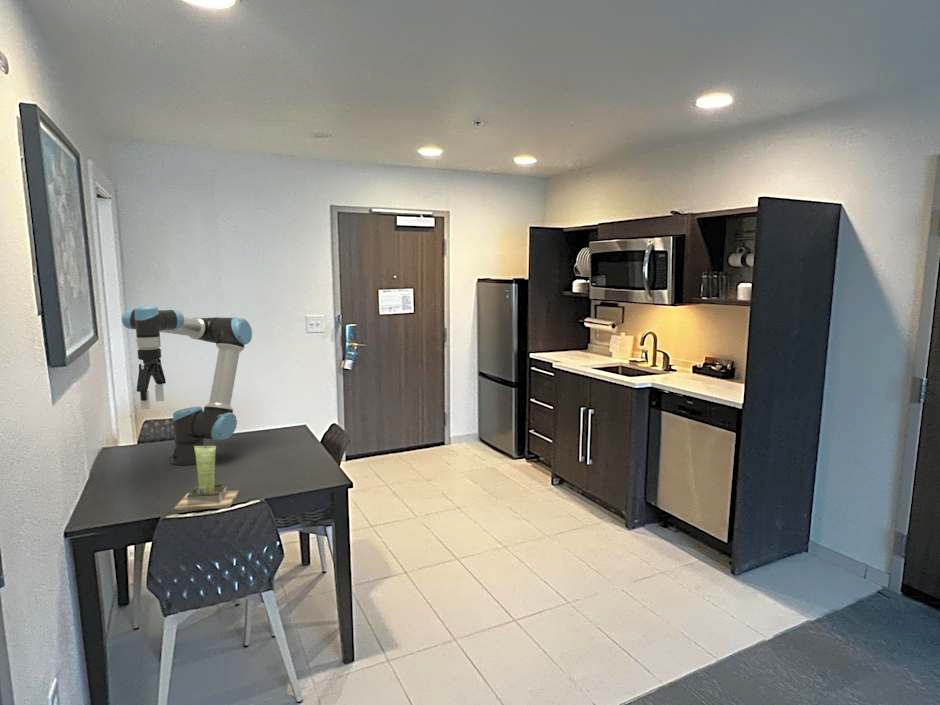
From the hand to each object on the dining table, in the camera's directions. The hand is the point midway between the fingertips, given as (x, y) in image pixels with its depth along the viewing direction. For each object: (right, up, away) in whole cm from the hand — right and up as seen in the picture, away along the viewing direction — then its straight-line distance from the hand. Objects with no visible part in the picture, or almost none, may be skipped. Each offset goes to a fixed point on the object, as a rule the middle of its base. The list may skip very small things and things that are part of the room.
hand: (153, 405), depth 216 cm
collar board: (+24, -34, -7) cm, 42 cm away
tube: (+24, -33, -8) cm, 41 cm away
